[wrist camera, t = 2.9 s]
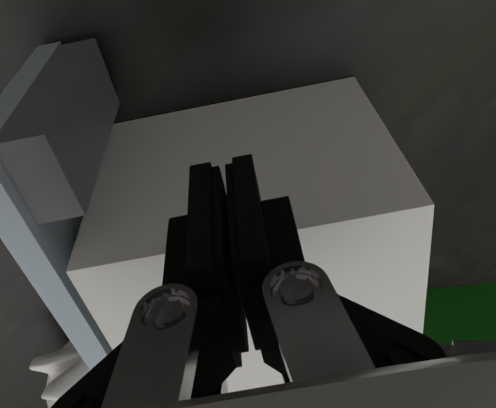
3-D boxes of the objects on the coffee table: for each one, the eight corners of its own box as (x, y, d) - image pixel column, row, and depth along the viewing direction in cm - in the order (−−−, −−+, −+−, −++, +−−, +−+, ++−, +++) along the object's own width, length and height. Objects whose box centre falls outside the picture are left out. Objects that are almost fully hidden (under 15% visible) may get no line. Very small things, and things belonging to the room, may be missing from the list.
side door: (37, 46, 20) (-52, 161, 13) (97, 33, 20) (39, 143, 13) (150, 293, 30) (134, 435, 23) (191, 286, 30) (187, 427, 23)
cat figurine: (39, 450, 24) (115, 541, 31) (214, 331, 28) (246, 434, 35) (-1, 343, 30) (71, 439, 37) (148, 258, 34) (186, 359, 41)
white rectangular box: (110, 124, 23) (58, 290, 15) (354, 76, 23) (444, 220, 14) (210, 371, 37) (212, 532, 28) (364, 345, 36) (413, 501, 28)
